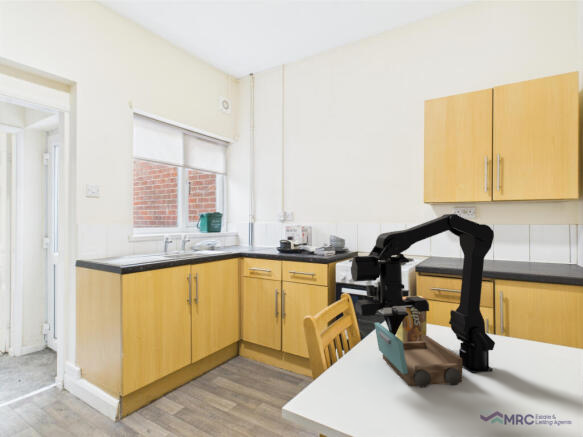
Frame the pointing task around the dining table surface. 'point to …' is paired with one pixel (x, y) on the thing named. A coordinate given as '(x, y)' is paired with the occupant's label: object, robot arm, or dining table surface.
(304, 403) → the dining table surface
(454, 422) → the dining table surface
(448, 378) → the cart bed
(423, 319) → the candy box
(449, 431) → the dining table surface
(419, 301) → the robot arm
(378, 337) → the panel
